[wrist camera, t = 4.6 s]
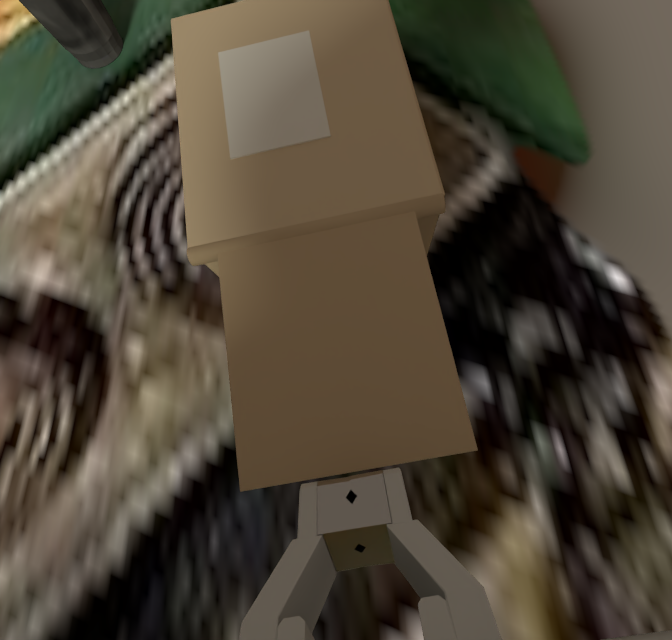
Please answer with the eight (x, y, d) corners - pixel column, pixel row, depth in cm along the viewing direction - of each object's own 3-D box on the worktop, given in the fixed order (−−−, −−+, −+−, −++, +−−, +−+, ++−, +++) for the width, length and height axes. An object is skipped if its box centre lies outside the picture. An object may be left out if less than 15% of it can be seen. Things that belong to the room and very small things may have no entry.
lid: (507, 442, 13) (515, 443, 12) (214, 493, 13) (204, 498, 13) (376, -17, 19) (376, -36, 18) (178, 32, 19) (169, 16, 19)
